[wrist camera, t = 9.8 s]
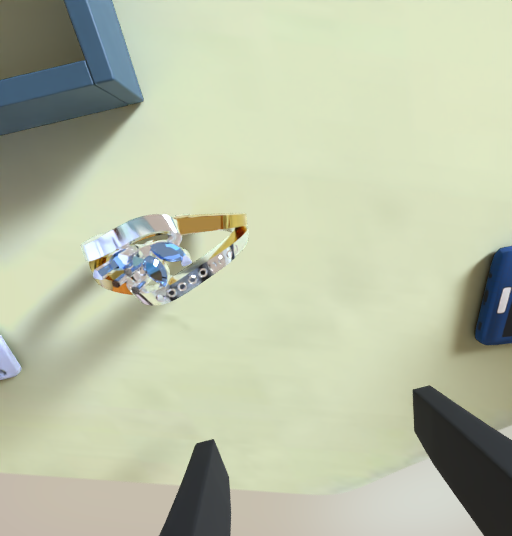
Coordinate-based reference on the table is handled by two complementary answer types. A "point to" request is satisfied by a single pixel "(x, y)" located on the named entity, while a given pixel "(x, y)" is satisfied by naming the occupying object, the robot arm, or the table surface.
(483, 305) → the cell phone
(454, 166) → the table surface
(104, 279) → the ring
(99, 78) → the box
